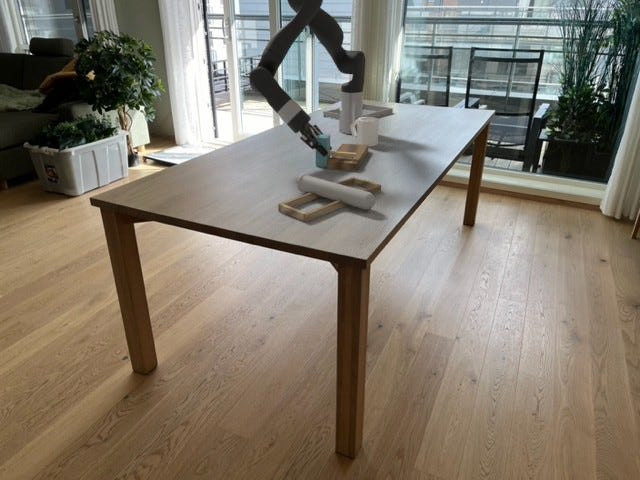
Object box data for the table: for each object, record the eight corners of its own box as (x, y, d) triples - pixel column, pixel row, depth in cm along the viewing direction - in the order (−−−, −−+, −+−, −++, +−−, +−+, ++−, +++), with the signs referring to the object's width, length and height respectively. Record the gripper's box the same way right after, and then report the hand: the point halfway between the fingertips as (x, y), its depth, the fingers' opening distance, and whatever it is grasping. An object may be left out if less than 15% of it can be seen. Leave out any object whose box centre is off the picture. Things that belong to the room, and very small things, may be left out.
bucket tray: (323, 116, 239) (323, 111, 238) (361, 107, 257) (361, 103, 256) (355, 122, 225) (355, 117, 224) (392, 113, 244) (392, 108, 243)
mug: (381, 142, 193) (382, 118, 188) (370, 147, 186) (371, 122, 182) (356, 138, 199) (356, 114, 194) (344, 143, 193) (345, 118, 188)
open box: (327, 168, 163) (327, 161, 162) (342, 150, 184) (342, 143, 183) (356, 170, 161) (356, 163, 160) (368, 151, 181) (368, 144, 180)
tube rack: (278, 210, 131) (278, 204, 130) (353, 182, 150) (353, 176, 149) (306, 222, 124) (306, 215, 123) (381, 191, 143) (381, 184, 142)
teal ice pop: (315, 166, 166) (315, 137, 162) (319, 161, 170) (319, 134, 166) (353, 168, 163) (354, 139, 158) (356, 164, 167) (357, 136, 163)
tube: (380, 193, 129) (310, 174, 143) (370, 192, 125) (299, 172, 139) (376, 212, 130) (306, 192, 144) (366, 212, 126) (295, 190, 140)
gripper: (294, 112, 155) (330, 151, 157) (307, 104, 167) (340, 140, 170) (280, 128, 158) (315, 165, 161) (293, 119, 171) (326, 153, 173)
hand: (328, 152), depth 165 cm, fingers closed on teal ice pop, 5 cm apart
